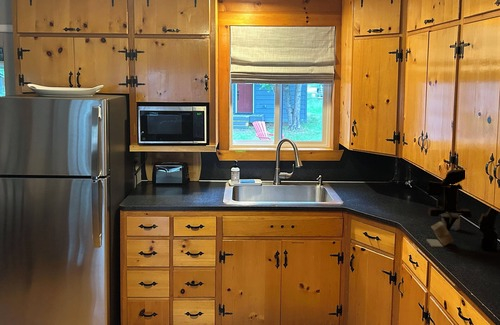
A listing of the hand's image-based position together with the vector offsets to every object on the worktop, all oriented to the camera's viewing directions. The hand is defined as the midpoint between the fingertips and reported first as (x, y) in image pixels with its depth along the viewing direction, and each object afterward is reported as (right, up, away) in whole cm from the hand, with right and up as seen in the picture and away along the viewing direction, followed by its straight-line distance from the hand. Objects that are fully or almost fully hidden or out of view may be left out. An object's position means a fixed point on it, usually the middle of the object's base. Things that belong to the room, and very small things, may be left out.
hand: (448, 230), depth 262 cm
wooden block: (0, -5, +1) cm, 5 cm away
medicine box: (+11, -3, +27) cm, 29 cm away
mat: (-6, -6, +1) cm, 9 cm away
